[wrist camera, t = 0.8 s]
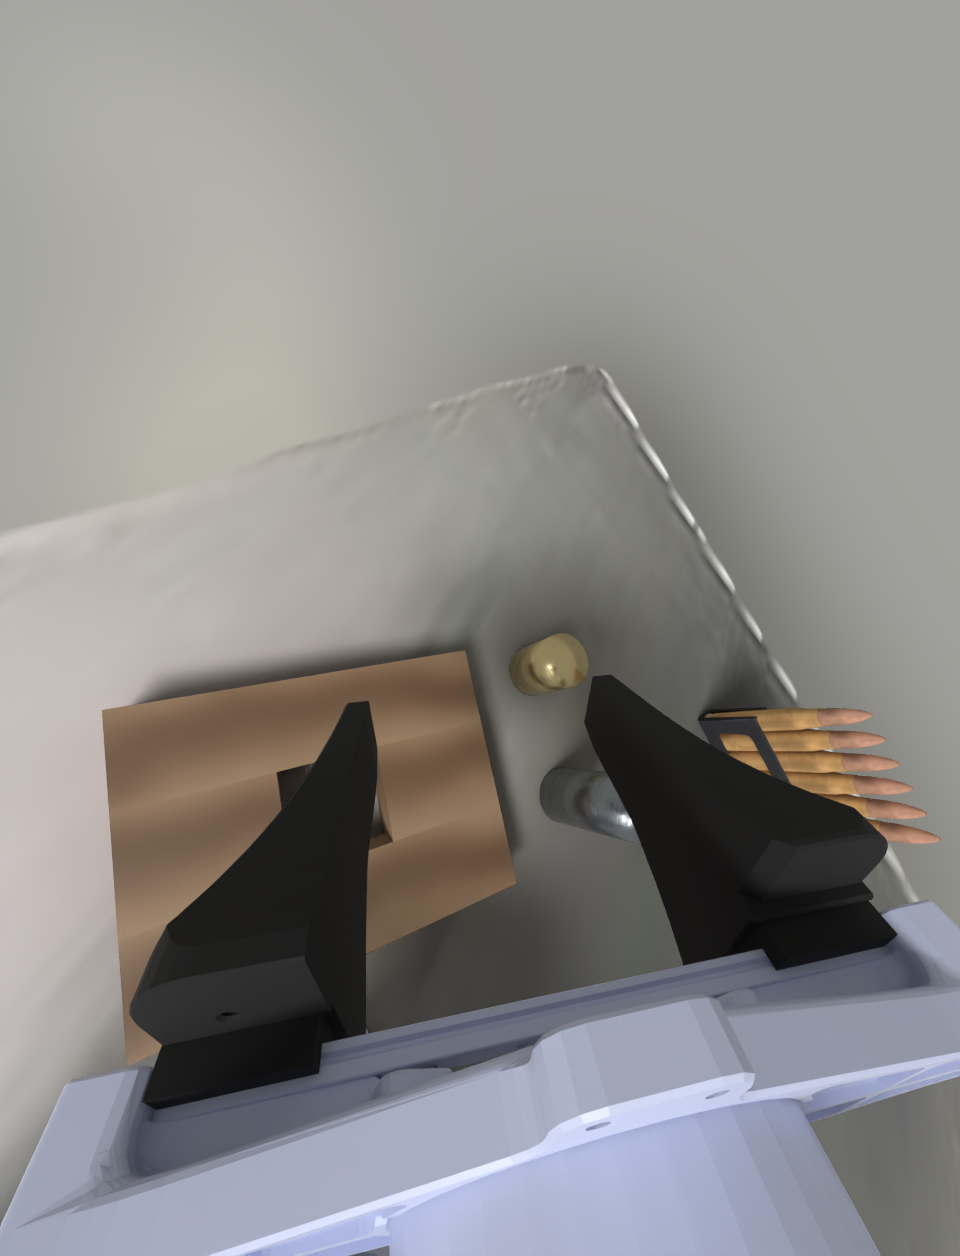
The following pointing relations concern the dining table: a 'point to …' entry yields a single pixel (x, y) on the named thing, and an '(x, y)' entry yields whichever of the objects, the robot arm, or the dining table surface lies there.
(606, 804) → the tall pin
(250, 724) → the hole board
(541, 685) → the short pin
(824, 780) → the ammunition clip
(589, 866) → the dining table surface
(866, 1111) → the dining table surface
